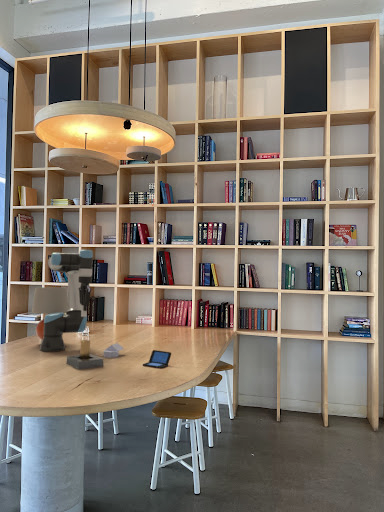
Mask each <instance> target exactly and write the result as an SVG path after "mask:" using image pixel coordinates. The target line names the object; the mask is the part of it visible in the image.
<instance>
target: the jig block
mask: <svg viewBox="0 0 384 512" xmlns="http://www.w3.org/2000/svg"><path fill="white" fill-rule="evenodd" d="M66 364H67V365H69V366H70V367H72V368H75V369H76V370H85V369H93V368H100V367H101V368H102V367H104V358H102V357H100V356H98V355H96V354H95V355H94V354H92V353H90V359H82V360H81V359H80V354H77V355H76V354H75V355H67V356H66Z"/></svg>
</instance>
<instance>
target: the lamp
mask: <svg viewBox="0 0 384 512" xmlns="http://www.w3.org/2000/svg"><path fill="white" fill-rule="evenodd" d="M67 288H68V287H55V286H54V287H45V286H44V287H35V290H34V295H33V301H32V308H31V314H37V315H39V314H40V315H41V314H42V315H47V314H51V313H60V312H62V313H63V314H66V312H67V311H68V289H67ZM35 333H36V336H37V337H38V338H39V340H40V344H41V343H42V340H43V336H44V318H43V319H41V320H39V321H38V323H37V325H36V326H35ZM63 334H64V333H63ZM63 334H62V336H63Z"/></svg>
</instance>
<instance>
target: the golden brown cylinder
mask: <svg viewBox="0 0 384 512" xmlns="http://www.w3.org/2000/svg"><path fill="white" fill-rule="evenodd" d="M79 351H80V354H79V355H80V359H81V360H82V359H90V354H91V340H90V339H82V340H80V350H79Z"/></svg>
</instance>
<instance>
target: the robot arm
mask: <svg viewBox="0 0 384 512" xmlns="http://www.w3.org/2000/svg"><path fill="white" fill-rule="evenodd" d="M93 252H94V251H93V250H91V249H80V250H79V253H71V252H70V253H67V252H52V253H51V256H50V257H49V258H48V259H47V265H48V268H49V269H50V270H52V271H54V272H58V273H65V276H66V277H67V288H68V289H67V297H68V311H67V312H66V313H62V312H60V313H51V314H44V318H43V319H44V336H43V340H42V343H41V342H40V346H39V351H41V350H42V351H41V352H47V351H54V352H61V351H60V350H62V351H65V350H64V349H66V345H65V342H64V338H63V335H62V334H67V333H69V334H70V333H83V332H84V331H86V328H87V322H88V315H87V314H88V313H87V312H88V310H87V309H88V305H90V298H91V291H92V288H91V287H90V284H91V283H93V282H92V281H93V280H92V279H93V277H92V276H93V258H94V254H93Z"/></svg>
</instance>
